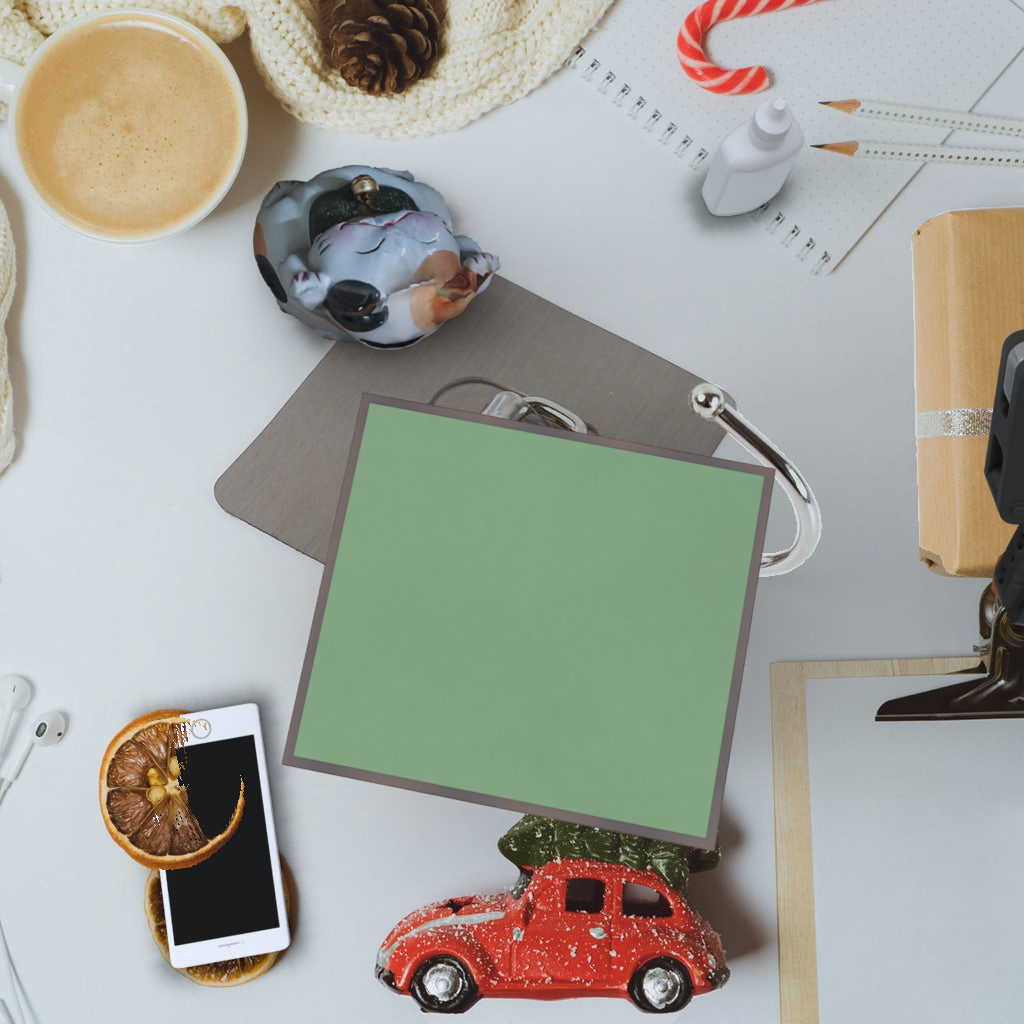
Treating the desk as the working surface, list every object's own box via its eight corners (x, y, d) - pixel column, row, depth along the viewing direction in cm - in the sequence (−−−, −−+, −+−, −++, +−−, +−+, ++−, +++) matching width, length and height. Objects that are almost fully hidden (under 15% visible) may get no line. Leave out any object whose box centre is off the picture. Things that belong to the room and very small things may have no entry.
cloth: (762, 477, 44) (765, 476, 44) (704, 836, 42) (706, 838, 42) (371, 404, 45) (369, 402, 44) (295, 754, 43) (293, 755, 42)
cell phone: (258, 701, 71) (256, 701, 70) (292, 946, 68) (289, 949, 68) (145, 721, 70) (141, 721, 70) (174, 967, 68) (171, 970, 68)
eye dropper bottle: (775, 225, 75) (821, 143, 63) (697, 215, 75) (729, 131, 63) (781, 168, 76) (829, 77, 64) (704, 158, 76) (737, 65, 64)
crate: (679, 542, 72) (776, 468, 44) (639, 775, 70) (715, 851, 42) (424, 494, 73) (362, 391, 45) (377, 723, 70) (280, 764, 43)
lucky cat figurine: (453, 166, 76) (513, 149, 63) (461, 332, 79) (520, 349, 66) (242, 170, 71) (260, 153, 59) (259, 346, 74) (281, 367, 62)
